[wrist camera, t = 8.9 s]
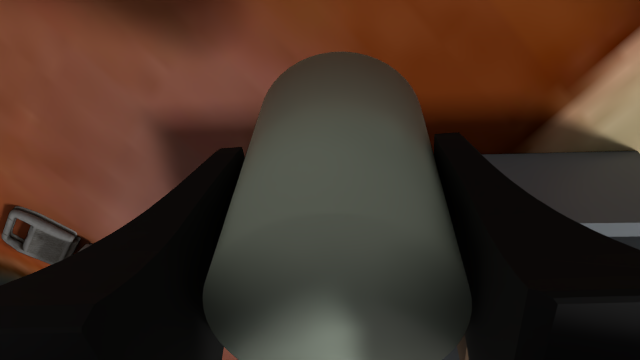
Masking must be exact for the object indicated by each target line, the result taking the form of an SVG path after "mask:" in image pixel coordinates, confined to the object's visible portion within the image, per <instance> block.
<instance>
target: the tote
mask: <svg viewBox="0 0 640 360" xmlns="http://www.w3.org/2000/svg"><path fill="white" fill-rule="evenodd" d="M483 156H484V157H485V158H486V159H487V160H488V161H489V162H490V163H491V164H492V165H494V166H495V167H496V168H497V169H498V170H499V171H500V172H502V173H503V174H504V175H505V176H506V177H508V178H509V179H510V180H512V181H513V182H514V183H516V184H517V185H518V186H520V187H521V188H522V189H524V190H525V191H526V192H528V193H529V194H531V195H532V196H533V197H535V198H536V199H538V200H540V201H541V202H543V203H545V204H546V205H548V206H549V207H551V208H553V209H554V210H556V211H558V212H559V213H561V214H563V215H565V216H566V217H568V218H570V219H572V220H574V221H576V222H578V223H580V224H582V225H584V226H586V227H588V228H590V229H592V230H594V231H596V232H598V233H601V234H603V235H605V236H607V237H610V238H612V239H614V240H617V241H619V242H622V243H624V244H627V245H629V246H632V247H634V248H637V249H639V250H640V154H639V152H638V151H609V152H567V153H526V154H485V155H483ZM442 360H460V359H459V354H458V349H457V346H456V347H455V348H454V349H453V350H452V351H451V353H449V354H448V355H447V356H446V357H445V358H444V359H442Z"/></svg>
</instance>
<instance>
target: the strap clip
mask: <svg viewBox="0 0 640 360" xmlns="http://www.w3.org/2000/svg"><path fill="white" fill-rule="evenodd" d="M17 218H18V219H20V220H22V221H24V222H26V223H28V224H30V225H31V226H30V229H29V231H28V234H27V236H26V239H25V240H24V239H22V238H20V237H18V236H16V235H15V234H13V233H12V230H13V227H14V224H15V221H16V219H17ZM2 239H3V240H4V241H5V242H6V243H7V244H9V245H10V246H12V247H13V248H14V249H16V250H17V251H19V252H21V253H23V254H26V255H28V256H31V257H33V258H36V259H39V260H41V261H44V262H46V263H49V264H51V265H52V264H55V263H57V262H59V261H61V260H63V259H65V258H67V257H69V256H71V255H73V253H74V251H75V249H76V247H77V245H78V243H79V241H80V239H81V238H80V237H77V233H76V232H75V231H73V230H71V229H69V228H67V227H65V226H63V225H61V224H59V223H57V222H55V221H54V220H52V219H50V218H48V217H46V216H44V215H42V214H40V213H38V212H35V211H32V210H29V209H26V208H24V207H19V206H17V207H15V208H14V209H13V210H12V211H11V212H10V213H9V216H8V219H7V222H6V224H5V227H4V230H3V233H2ZM90 245H92V244H91V243H90ZM90 245H89V244H86V245H84V247H83V248H82V249H81V250H83V249H85V248H87V247H89V246H90ZM81 250H80V251H81Z"/></svg>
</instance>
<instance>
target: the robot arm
mask: <svg viewBox="0 0 640 360" xmlns="http://www.w3.org/2000/svg"><path fill="white" fill-rule="evenodd" d="M434 158H435V162H436V165H437V169H438V173H439V177H440V180H441V184H442V188H443V191H444V195H445V199H446V202H447V206H448V210H449V214H450V217H451V221H452V225H453V228H454V232H455V236H456V239H457V243H458V247H459V251H460V254H461V258H462V262H463V265H464V269H465V273H466V276H467V280H468V284H469V288H470V293H471V297H472V313H471V318H470V322H469V325H468V327H467V330H466V332H465V339H466V345H467V351H468V357H469V360H640V250H639V249H637V248H634V247H632V246H629V245H627V244H624V243H622V242H619V241H617V240H614V239H612V238H610V237H607V236H605V235H603V234H601V233H598V232H596V231H594V230H592V229H590V228H588V227H586V226H584V225H582V224H580V223H578V222H576V221H574V220H572V219H570V218H568V217H566V216H565V215H563V214H561V213H559V212H558V211H556V210H554V209H553V208H551V207H549V206H548V205H546V204H545V203H543V202H541V201H540V200H538V199H536V198H535V197H533V196H532V195H531V194H529V193H528V192H526V191H525V190H524V189H522V188H521V187H520V186H518V185H517V184H516V183H514V182H513V181H512V180H510V179H509V178H508V177H506V176H505V175H504V174H503V173H502V172H500V171H499V170H498V169H497V168H496V167H495V166H494V165H492V164H491V163H490V162H489V161H488V160H487V159H486V158H485V157H484V156H483V155H482V154H481V153H480V152H479V151H477V150H476V149H475V148H474V147H473V146H472V145H471V144H470V143H469V142H468V141H467V140H466V139H465V138H464V137H463V136H462V135H461V134H460V133H459V132H458V133H444V134H435V135H434ZM244 159H245V157H244V153H243V149H242V147H236V148H221V149H219V150H218V151H217V152H215V153H214V154H213V155H212V156H211V157H209V158H208V159H207V160H206V161H205V162H204V163H203V164H201V165H200V166H199V167H198V168H197V169H196V170H195V171H194V172H192V173H191V174H190V175H189V176H188V177H187V178H186V179H185V180H183V181H182V182H181V183H180V184H179V185H178V186H177V187H175V188H174V189H173V190H172V191H170V192H169V193H168V194H167V195H165V196H164V197H163V198H162V199H160V200H159V201H158V202H157V203H155V204H154V205H153V206H152V207H150V208H149V209H148V210H146V211H145V212H144V213H142V214H141V215H139V216H138V217H136V218H135V219H134V220H132V221H131V222H129V223H127V224H126V225H124V226H123V227H121V228H120V229H118V230H117V231H115V232H113V233H112V234H110V235H108V236H106V237H105V238H103V239H101V240H99V241H97V242H96V243H94V244H92V245H90V246H89V247H87V248H85V249H83V250H81V251H79V252H77V253H76V254H73V255H71V256H69V257H67V258H65V259H63V260H61V261H59V262H57V263H55V264H52V265H50V266H48V267H46V268H44V269H41V270H39V271H37V272H34V273H32V274H29V275H27V276H24V277H22V278H19V279H17V280H14V281H11V282H9V283H6V284H4V285H1V286H0V360H222V355H223V349H224V346H223V345H222V344H221V343H220V342H219V340H218V339H217V338H216V336H215V335H214V333H213V332H212V330H211V328H210V326H209V324H208V322H207V320H206V316H205V313H204V309H203V299H202V297H203V288H204V284H205V280H206V277H207V274H208V271H209V268H210V265H211V262H212V259H213V256H214V252H215V249H216V246H217V243H218V240H219V237H220V234H221V231H222V228H223V225H224V221H225V218H226V215H227V212H228V209H229V206H230V203H231V200H232V197H233V194H234V190H235V187H236V184H237V181H238V178H239V175H240V172H241V169H242V166H243V163H244Z"/></svg>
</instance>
